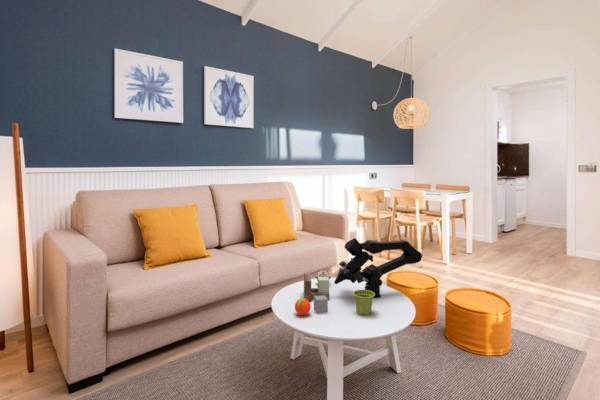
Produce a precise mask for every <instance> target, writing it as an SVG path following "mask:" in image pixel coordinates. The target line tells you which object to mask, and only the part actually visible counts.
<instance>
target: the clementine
mask: <svg viewBox="0 0 600 400" xmlns="http://www.w3.org/2000/svg"><path fill="white" fill-rule="evenodd" d="M311 308H312V306H311V302H309V301H308V300H307V299H304V297H303V298H302V297H301V298H299V299H298V300H296V302H295V303H294V311H295V312H296V313H297V314H298V315H301V316H305V315H307V314H309V313H310V311H311Z"/></svg>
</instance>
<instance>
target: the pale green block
mask: <svg viewBox="0 0 600 400" xmlns="http://www.w3.org/2000/svg"><path fill="white" fill-rule="evenodd" d="M317 288H318V293H329V294H330V279H329V278H328V277H318V281H317Z"/></svg>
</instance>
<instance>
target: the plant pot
mask: <svg viewBox="0 0 600 400" xmlns="http://www.w3.org/2000/svg"><path fill="white" fill-rule="evenodd" d="M352 295H353V297H354V301H355V308H356V309H355V310H356V313H357V314H359V315H364V316H368V315H370V314H371V313H372V308H373V300H374V299H375V298H374V296H375V293H374V292H372V291H369V290H365V289H357V290H354V291H353V292H352Z"/></svg>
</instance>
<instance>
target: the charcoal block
mask: <svg viewBox="0 0 600 400" xmlns="http://www.w3.org/2000/svg"><path fill="white" fill-rule="evenodd" d="M328 302H329V300H328V299H327V298H326V296H325V295H322V296H314V300H313V311H314V312H315V313H316V314H326V313H328V306H329V305H328V304H329V303H328Z"/></svg>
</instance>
